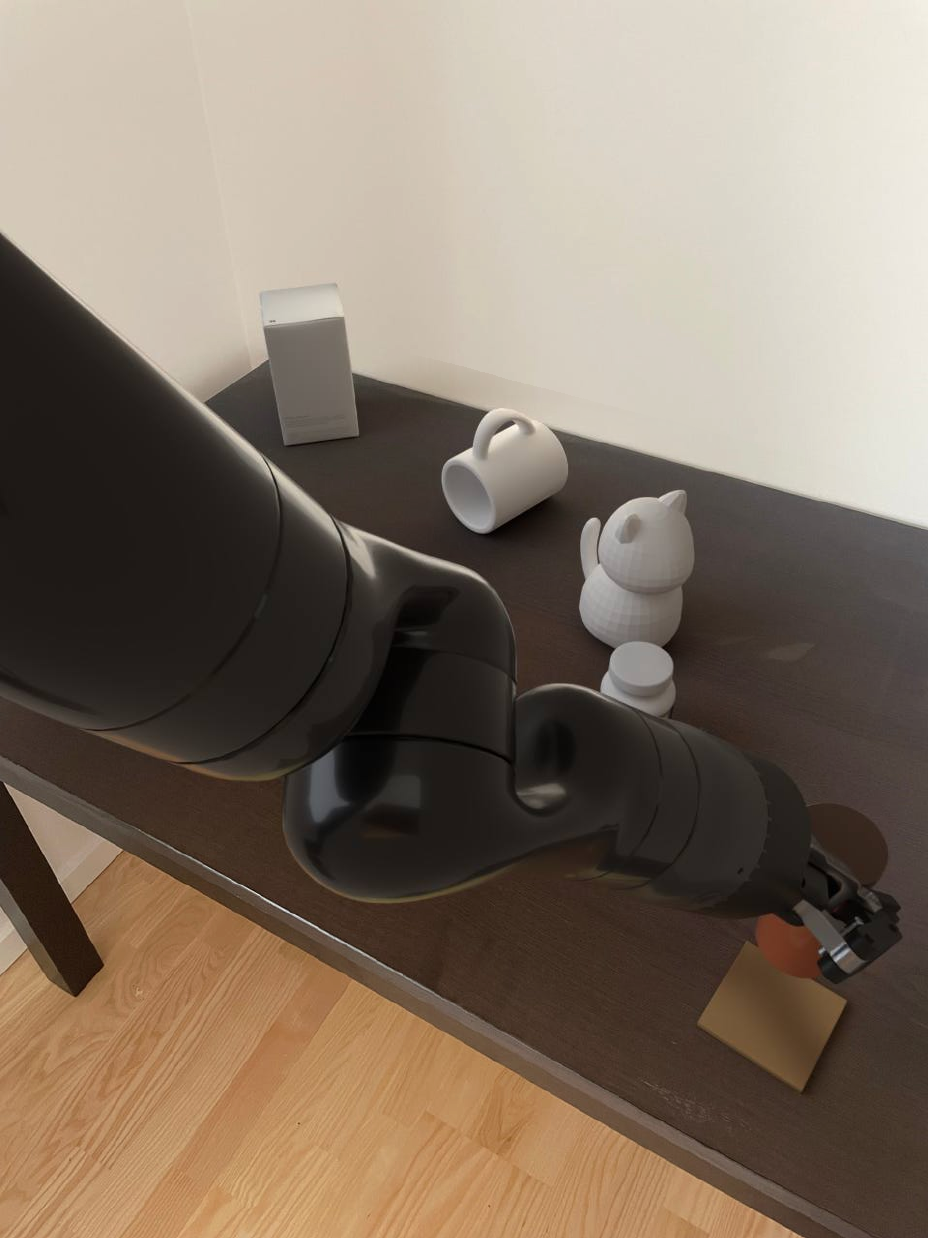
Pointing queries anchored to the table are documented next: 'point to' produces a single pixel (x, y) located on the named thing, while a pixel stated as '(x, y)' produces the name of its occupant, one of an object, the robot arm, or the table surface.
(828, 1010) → the coaster
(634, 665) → the pill bottle
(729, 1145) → the table surface
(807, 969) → the spice jar
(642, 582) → the cat figurine
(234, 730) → the robot arm
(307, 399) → the rectangular carton
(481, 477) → the mug
